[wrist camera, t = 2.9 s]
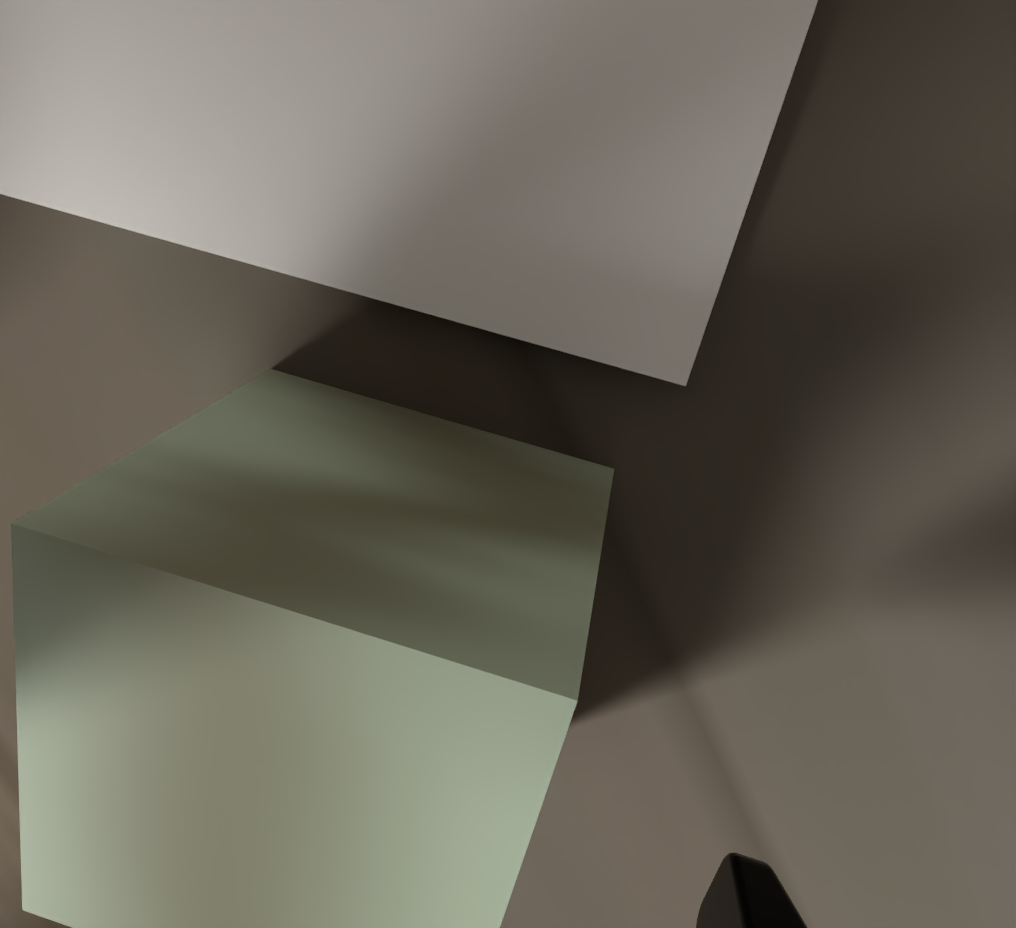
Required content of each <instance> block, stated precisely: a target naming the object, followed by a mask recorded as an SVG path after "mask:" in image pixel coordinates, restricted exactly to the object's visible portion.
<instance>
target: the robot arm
mask: <svg viewBox="0 0 1016 928" xmlns="http://www.w3.org/2000/svg"><path fill="white" fill-rule="evenodd" d="M696 928H807V926H806V924H805V923H804V921H803V919H802V918H801V916H800V914H799V913H798V911H797V909H796V908H795V906H794V904H793V903H792V901H791V899H790V898H789V896H788V894H787V893H786V891H785V889H784V887H783V886H782V884H781V882H780V881H779V879H778V877H777V876H776V874H775V872H774V871H773V869H772V868H771V867H770V866H769V865H768V864H766V863H765V862H763V861H759V860H756V859H753V858H750V857H747V856H744V855H741V854H738V853H729V854H728V855H727V856H726V857H725V858H724V859H723V861H722V863H721V865H720V867H719V869H718V871H717V873H716V875H715V877H714V879H713V881H712V883H711V885H710V887H709V889H708V891H707V893H706V895H705V897H704V899H703V901H702V904H701V907H700V910H699V914H698V918H697V924H696Z"/></svg>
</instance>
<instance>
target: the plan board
mask: <svg viewBox="0 0 1016 928" xmlns="http://www.w3.org/2000/svg"><path fill="white" fill-rule="evenodd" d="M817 2H818V0H0V194H2V195H6V196H9V197H13V198H17V199H20V200H24V201H27V202H31V203H34V204H38V205H42V206H45V207H49V208H52V209H56V210H59V211H63V212H66V213H70V214H74V215H77V216H81V217H84V218H88V219H91V220H95V221H99V222H102V223H106V224H109V225H113V226H116V227H120V228H123V229H127V230H131V231H134V232H138V233H141V234H145V235H148V236H152V237H156V238H159V239H163V240H166V241H170V242H173V243H177V244H180V245H184V246H188V247H191V248H195V249H198V250H202V251H205V252H209V253H213V254H216V255H220V256H223V257H227V258H230V259H234V260H238V261H241V262H245V263H248V264H252V265H255V266H259V267H262V268H266V269H270V270H273V271H277V272H280V273H284V274H287V275H291V276H295V277H298V278H302V279H305V280H309V281H312V282H316V283H319V284H323V285H327V286H330V287H334V288H337V289H341V290H344V291H348V292H352V293H355V294H359V295H362V296H366V297H369V298H373V299H376V300H380V301H384V302H387V303H391V304H394V305H398V306H401V307H405V308H409V309H412V310H416V311H419V312H423V313H426V314H430V315H434V316H437V317H441V318H444V319H448V320H451V321H455V322H458V323H462V324H466V325H469V326H473V327H476V328H480V329H483V330H487V331H491V332H494V333H498V334H501V335H505V336H508V337H512V338H515V339H519V340H523V341H526V342H530V343H533V344H537V345H540V346H544V347H548V348H551V349H555V350H558V351H562V352H565V353H569V354H573V355H576V356H580V357H583V358H587V359H590V360H594V361H597V362H601V363H605V364H608V365H612V366H615V367H619V368H622V369H626V370H630V371H633V372H637V373H640V374H644V375H647V376H651V377H654V378H658V379H662V380H665V381H669V382H672V383H676V384H679V385H683V386H686V384H687V381H688V378H689V375H690V372H691V369H692V366H693V363H694V361H695V358H696V355H697V352H698V349H699V346H700V343H701V340H702V337H703V334H704V331H705V328H706V326H707V323H708V320H709V317H710V314H711V311H712V308H713V305H714V302H715V299H716V296H717V293H718V291H719V288H720V285H721V282H722V279H723V276H724V273H725V270H726V267H727V264H728V261H729V259H730V256H731V253H732V250H733V247H734V244H735V241H736V238H737V235H738V232H739V229H740V226H741V224H742V221H743V218H744V215H745V212H746V209H747V206H748V203H749V200H750V197H751V194H752V192H753V189H754V186H755V183H756V180H757V177H758V174H759V171H760V168H761V165H762V162H763V159H764V157H765V154H766V151H767V148H768V145H769V142H770V139H771V136H772V133H773V130H774V127H775V124H776V122H777V119H778V116H779V113H780V110H781V107H782V104H783V101H784V98H785V95H786V92H787V90H788V87H789V84H790V81H791V78H792V75H793V72H794V69H795V66H796V63H797V60H798V57H799V55H800V52H801V49H802V46H803V43H804V40H805V37H806V34H807V31H808V28H809V25H810V22H811V20H812V17H813V14H814V11H815V8H816V5H817Z"/></svg>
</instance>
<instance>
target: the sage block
mask: <svg viewBox="0 0 1016 928" xmlns="http://www.w3.org/2000/svg"><path fill="white" fill-rule="evenodd" d="M613 474H614V469H613V468H610V467H607V466H603V465H600V464H596V463H593V462H589V461H586V460H583V459H579V458H576V457H572V456H569V455H565V454H562V453H558V452H555V451H552V450H548V449H545V448H541V447H538V446H534V445H531V444H527V443H524V442H521V441H517V440H514V439H510V438H507V437H503V436H500V435H497V434H493V433H490V432H486V431H483V430H479V429H476V428H472V427H469V426H466V425H462V424H459V423H455V422H452V421H448V420H445V419H441V418H438V417H435V416H431V415H428V414H424V413H421V412H417V411H414V410H411V409H407V408H404V407H400V406H397V405H393V404H390V403H386V402H383V401H380V400H376V399H373V398H369V397H366V396H362V395H359V394H355V393H352V392H349V391H345V390H342V389H338V388H335V387H331V386H328V385H325V384H321V383H318V382H314V381H311V380H307V379H304V378H300V377H297V376H294V375H290V374H287V373H283V372H280V371H276V370H273V369H270V370H268V371H266V372H265V373H263V374H261V375H260V376H258V377H256V378H255V379H253V380H251V381H250V382H248V383H246V384H244V385H243V386H241V387H239V388H238V389H236V390H234V391H233V392H231V393H229V394H228V395H226V396H224V397H223V398H221V399H219V400H218V401H216V402H214V403H212V404H211V405H209V406H207V407H206V408H204V409H202V410H201V411H199V412H197V413H196V414H194V415H192V416H191V417H189V418H187V419H186V420H184V421H182V422H181V423H179V424H177V425H175V426H174V427H172V428H170V429H169V430H167V431H165V432H164V433H162V434H160V435H159V436H157V437H155V438H154V439H152V440H150V441H149V442H147V443H145V444H144V445H142V446H140V447H138V448H137V449H135V450H133V451H132V452H130V453H128V454H127V455H125V456H123V457H122V458H120V459H118V460H117V461H115V462H113V463H112V464H110V465H108V466H107V467H105V468H103V469H101V470H100V471H98V472H96V473H95V474H93V475H91V476H90V477H88V478H86V479H85V480H83V481H81V482H80V483H78V484H76V485H75V486H73V487H71V488H70V489H68V490H66V491H64V492H63V493H61V494H59V495H58V496H56V497H54V498H53V499H51V500H49V501H48V502H46V503H44V504H43V505H41V506H39V507H38V508H36V509H34V510H33V511H31V512H29V513H27V514H26V515H24V516H22V517H21V518H19V519H17V520H16V521H14V522H12V523H11V534H12V568H13V603H14V637H15V671H16V705H17V739H18V774H19V808H20V842H21V876H22V910H24V911H27V912H30V913H33V914H35V915H38V916H41V917H44V918H47V919H50V920H52V921H55V922H58V923H61V924H64V925H67V926H70V927H72V928H500V925H501V922H502V919H503V917H504V914H505V911H506V908H507V905H508V902H509V899H510V896H511V893H512V890H513V887H514V885H515V882H516V879H517V876H518V873H519V870H520V867H521V864H522V861H523V858H524V855H525V853H526V850H527V847H528V844H529V841H530V838H531V835H532V832H533V829H534V826H535V823H536V821H537V818H538V815H539V812H540V809H541V806H542V803H543V800H544V797H545V794H546V791H547V789H548V786H549V783H550V780H551V777H552V774H553V771H554V768H555V765H556V762H557V759H558V756H559V754H560V751H561V748H562V745H563V742H564V739H565V736H566V733H567V730H568V727H569V724H570V722H571V719H572V716H573V713H574V710H575V707H576V704H577V701H578V695H579V689H580V683H581V676H582V670H583V664H584V657H585V651H586V645H587V638H588V632H589V626H590V619H591V613H592V607H593V600H594V594H595V588H596V581H597V575H598V569H599V562H600V556H601V550H602V543H603V537H604V531H605V524H606V518H607V512H608V505H609V499H610V493H611V486H612V480H613Z"/></svg>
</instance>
